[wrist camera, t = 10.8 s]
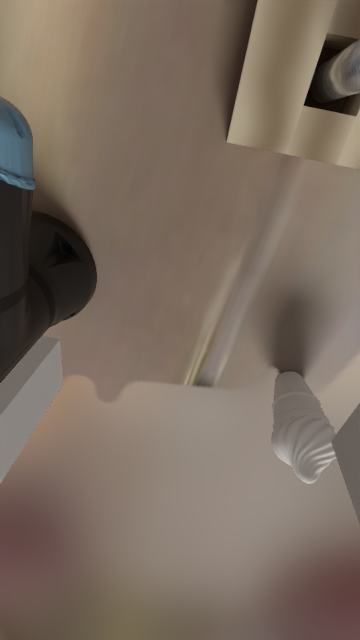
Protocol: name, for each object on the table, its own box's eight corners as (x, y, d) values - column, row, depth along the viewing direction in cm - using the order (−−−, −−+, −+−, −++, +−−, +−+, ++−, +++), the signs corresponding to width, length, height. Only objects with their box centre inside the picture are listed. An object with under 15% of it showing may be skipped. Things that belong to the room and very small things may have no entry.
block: (226, 141, 31) (226, 142, 27) (263, -30, 24) (270, -56, 21) (378, 172, 30) (397, 177, 27) (457, 9, 24) (496, -10, 20)
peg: (305, 99, 28) (351, 80, 18) (318, 57, 26) (377, 11, 16) (336, 105, 28) (400, 90, 18) (351, 64, 26) (431, 22, 16)
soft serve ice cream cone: (289, 351, 44) (318, 448, 30) (329, 379, 46) (372, 481, 32) (251, 382, 48) (261, 480, 35) (288, 406, 50) (313, 507, 36)
